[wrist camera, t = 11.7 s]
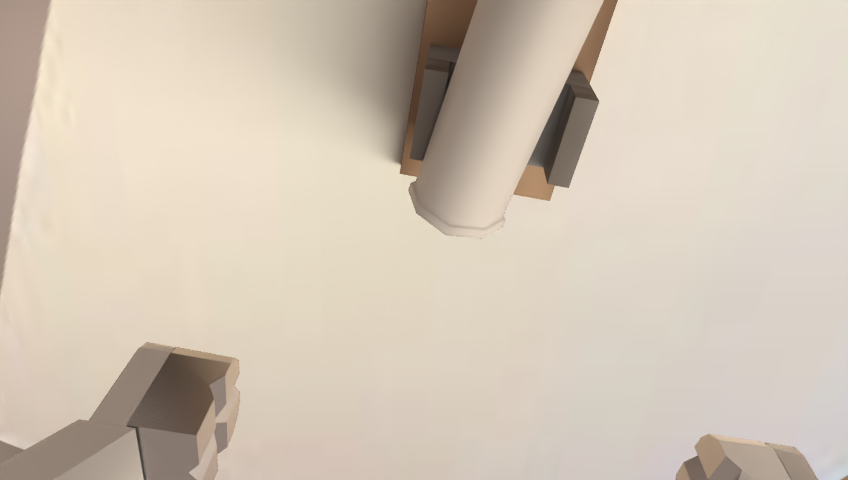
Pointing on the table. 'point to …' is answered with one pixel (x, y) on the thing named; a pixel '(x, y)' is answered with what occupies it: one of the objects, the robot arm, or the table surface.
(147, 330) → the table surface
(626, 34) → the table surface
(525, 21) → the tube
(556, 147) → the bracket stand
